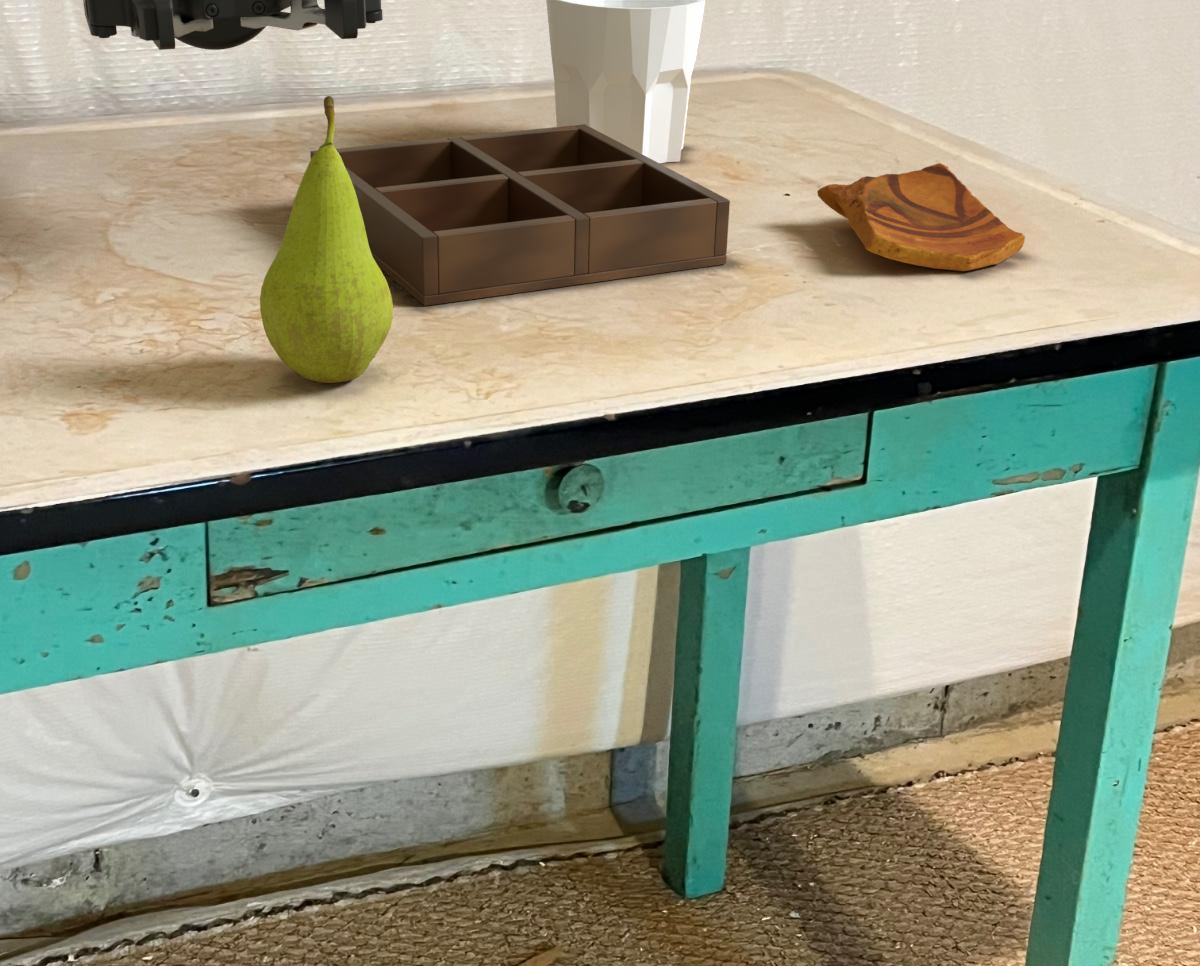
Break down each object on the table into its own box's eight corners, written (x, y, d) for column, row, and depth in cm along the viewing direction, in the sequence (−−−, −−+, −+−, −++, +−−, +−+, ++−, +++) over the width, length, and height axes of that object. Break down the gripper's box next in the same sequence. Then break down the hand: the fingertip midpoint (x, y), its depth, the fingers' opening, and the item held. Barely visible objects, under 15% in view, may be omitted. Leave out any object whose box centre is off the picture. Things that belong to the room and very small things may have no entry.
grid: (424, 306, 84) (422, 237, 83) (313, 211, 98) (309, 150, 96) (726, 264, 91) (730, 200, 90) (584, 181, 105) (585, 124, 103)
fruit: (287, 412, 72) (267, 129, 66) (250, 365, 77) (228, 96, 71) (414, 393, 75) (405, 117, 69) (371, 348, 79) (360, 86, 73)
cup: (610, 181, 105) (615, 14, 100) (514, 146, 112) (514, -12, 107) (729, 157, 110) (739, -2, 106) (630, 125, 117) (635, -26, 112)
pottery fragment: (944, 159, 99) (1047, 175, 91) (943, 239, 101) (1045, 261, 92) (791, 178, 96) (883, 196, 87) (793, 260, 98) (883, 285, 89)
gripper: (51, -110, 87) (91, -59, 74) (323, -117, 92) (406, -71, 79) (70, 41, 91) (112, 114, 78) (331, 26, 96) (412, 93, 83)
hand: (260, 21), depth 78 cm, fingers open, 8 cm apart
